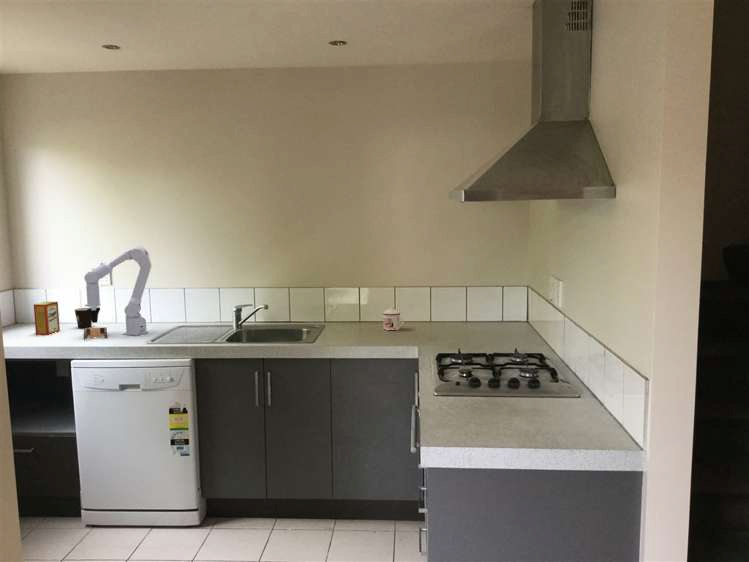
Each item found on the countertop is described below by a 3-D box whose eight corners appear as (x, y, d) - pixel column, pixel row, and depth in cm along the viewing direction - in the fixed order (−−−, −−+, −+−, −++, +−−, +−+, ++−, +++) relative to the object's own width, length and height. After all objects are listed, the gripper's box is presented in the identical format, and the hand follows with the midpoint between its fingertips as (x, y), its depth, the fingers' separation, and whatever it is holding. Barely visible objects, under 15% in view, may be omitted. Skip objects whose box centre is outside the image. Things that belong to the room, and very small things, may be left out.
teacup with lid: (379, 329, 311) (379, 307, 309) (389, 327, 318) (389, 305, 316) (398, 332, 303) (398, 309, 302) (408, 329, 310) (408, 307, 309)
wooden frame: (84, 334, 304) (84, 329, 303) (107, 333, 308) (106, 327, 308) (83, 340, 292) (83, 334, 291) (107, 338, 296) (107, 332, 295)
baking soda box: (47, 335, 304) (45, 303, 302) (35, 335, 305) (33, 303, 303) (59, 331, 313) (57, 300, 311) (48, 331, 314) (45, 300, 312)
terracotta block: (90, 336, 299) (90, 328, 299) (100, 336, 301) (100, 327, 301) (90, 338, 295) (90, 329, 295) (100, 337, 297) (100, 329, 297)
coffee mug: (76, 326, 325) (74, 308, 324) (93, 325, 329) (92, 307, 327) (75, 330, 315) (74, 311, 313) (93, 329, 318) (92, 310, 317)
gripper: (84, 294, 305) (86, 320, 307) (83, 298, 292) (85, 325, 294) (99, 293, 308) (101, 319, 310) (99, 297, 295) (101, 324, 296)
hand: (94, 322), depth 302 cm, fingers closed
